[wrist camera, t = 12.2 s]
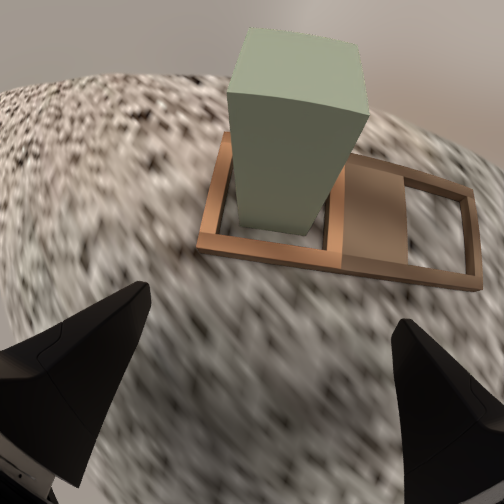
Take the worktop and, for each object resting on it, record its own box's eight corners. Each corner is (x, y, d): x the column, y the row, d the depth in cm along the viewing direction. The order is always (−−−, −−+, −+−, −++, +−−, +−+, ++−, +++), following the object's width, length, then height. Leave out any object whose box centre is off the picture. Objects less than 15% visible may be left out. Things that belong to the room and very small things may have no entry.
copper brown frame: (473, 292, 18) (484, 289, 17) (199, 252, 19) (196, 246, 17) (465, 194, 20) (473, 188, 19) (225, 142, 21) (224, 131, 20)
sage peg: (305, 236, 19) (369, 115, 8) (239, 226, 19) (226, 91, 8) (310, 178, 20) (357, 45, 9) (249, 169, 21) (249, 27, 9)
